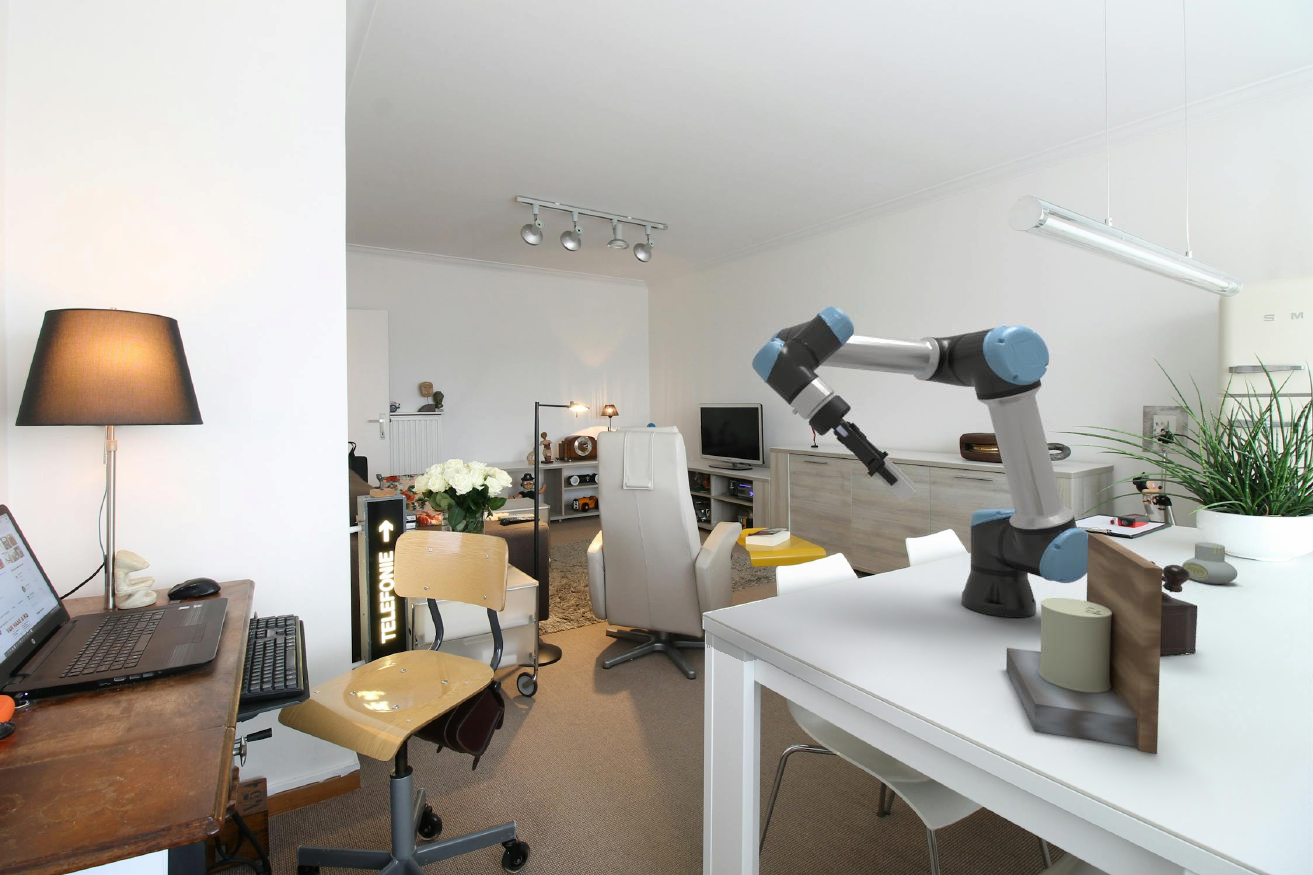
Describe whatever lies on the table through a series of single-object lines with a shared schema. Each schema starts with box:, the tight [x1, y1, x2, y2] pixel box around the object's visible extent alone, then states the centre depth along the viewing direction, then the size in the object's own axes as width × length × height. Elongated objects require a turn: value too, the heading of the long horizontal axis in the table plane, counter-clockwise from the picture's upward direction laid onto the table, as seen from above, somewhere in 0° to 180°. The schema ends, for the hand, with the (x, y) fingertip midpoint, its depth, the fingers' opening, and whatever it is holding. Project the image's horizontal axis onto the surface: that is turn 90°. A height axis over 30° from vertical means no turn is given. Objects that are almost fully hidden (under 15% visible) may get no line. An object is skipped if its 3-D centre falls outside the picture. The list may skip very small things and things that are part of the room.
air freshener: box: [1181, 541, 1238, 585], centre depth 162 cm, size 11×8×10 cm
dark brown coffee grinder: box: [1149, 560, 1198, 657], centre depth 116 cm, size 16×11×18 cm
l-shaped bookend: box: [1006, 532, 1164, 754], centre depth 95 cm, size 14×24×25 cm, turn 159°
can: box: [1039, 597, 1112, 693], centre depth 94 cm, size 9×9×12 cm
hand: (908, 492), depth 107 cm, fingers open, 13 cm apart
